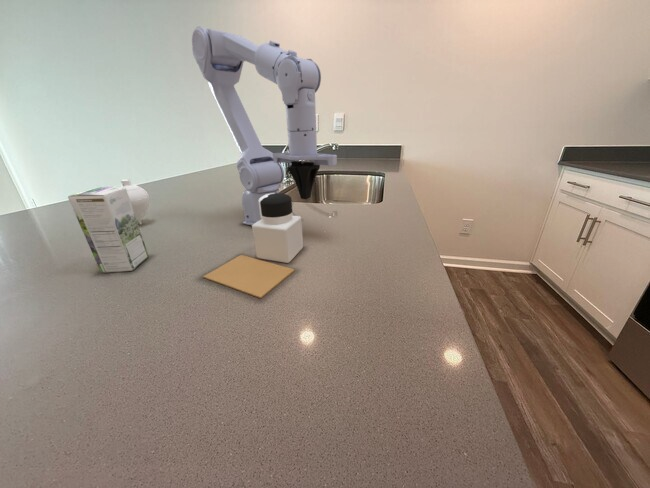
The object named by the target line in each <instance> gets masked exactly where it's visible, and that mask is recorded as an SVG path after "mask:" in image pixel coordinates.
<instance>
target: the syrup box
mask: <svg viewBox="0 0 650 488" xmlns="http://www.w3.org/2000/svg"><path fill="white" fill-rule="evenodd" d="M67 199H68V202H69V203H70V206H71V208H72V211H73V212H74V215H75V217H76V220H77V221H78V224H79V226H80V228H81V231H82V233H83V235H84V237H85V240H86V243H87V244H88V247H89V248H90V251H91V253H92V256H93V258H94V260H95V262H96V265H97V267H98V269H99V271H100V273H104V274H105V273H119V272H120V273H121V272H122V273H123V272H132V271H134V270H135V269H136V268H138V267H139V266H140V265H141V264H142V263H144V262H145V261H146V260H147V259H148V258H149V253H148V250H147V247H146V245H145V241H144V238H143V235H142V232H141V229H140V226H139V222H138V221H137V220H136V217H135V214H134V211H133V208H132V205H131V202H130V199H129V196H128V193H127V190H126V188H123V187H121V186H97V187H92V188H89V189H86V190H83V191H81V192H80V191H79V192H77V193H73V194H70V195H68V196H67Z"/></svg>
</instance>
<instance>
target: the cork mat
mask: <svg viewBox="0 0 650 488" xmlns="http://www.w3.org/2000/svg"><path fill="white" fill-rule="evenodd" d="M294 272H295V269H294V268H291V267H287V266H283V265H280V264H277V263H272V262H269V261H267V260H263V259H259V258H254V257H251V256H248V255H243V254H240V255H238V256H236V257H234V258H233V259H231V260H229V261H227V262H226V263H224V264H222V265H221V266H219V267H216V268H215V269H214V270H212V271H210V272H208V273H207V274H205V275H203V276H202V277H203V279H206V280H208V281H211V282H214V283H217V284H219V285H222V286H225V287H228V288H230V289H233V290H236V291H238V292H242V293H243V294H248V295H250V296H253V297H255V298H258V299H263V298H264V297H265V296H266V295H268V293H270V292H271V291H272V290H273V289H275V288H276V287H277V286H278V285H279V284H281V283H282V282H283V281H284V280H286V279H287V278H288V277H289V276H290V275H292V274H293V273H294Z"/></svg>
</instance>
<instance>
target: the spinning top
mask: <svg viewBox="0 0 650 488" xmlns="http://www.w3.org/2000/svg"><path fill="white" fill-rule="evenodd" d="M120 183H121V184H122V185H121V186H120V187H123V188H126V190H127V193H128V196H129V199H130V202H131V205H132V208H133V211H134V214H135V217H136V220H137V222H138V224H139V225H142V224H143V223H142V221H143V219H144V217H145V216H146V213H147V211H148V208H149V205H150V200H151V199H150V195H149V193H148V192H147V190H145V189H144V188H142V187H141V186H140V185H135V184H132V182H131V180H130V179H121V180H120Z"/></svg>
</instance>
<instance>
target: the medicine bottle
mask: <svg viewBox="0 0 650 488" xmlns="http://www.w3.org/2000/svg"><path fill="white" fill-rule="evenodd" d="M258 201H259V209H260V216H261V220H259V221H258V222H256V223H254V224H253V225H251V228H252V229H251V230H252V236H253V243H254V248H255V255H256V256H255V257H256V259H258V260H265V261H272V262H279V263H285V264H290V262H291V261H292V260H293V259H294V258H295V257H296V256H297V255H298V254H299V253H300V252H301V251H302V249H304V238H303V237H304V236H303V224H302V223H303V222H302V221H303V220H302V217H301V216H300V215H294V214H293V202H292V197H291V196H290V195H289V194H286V193H283V192H279V193H271V194H266V195H264V196H262V197H261V198H260V199H259V200H258Z"/></svg>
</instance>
